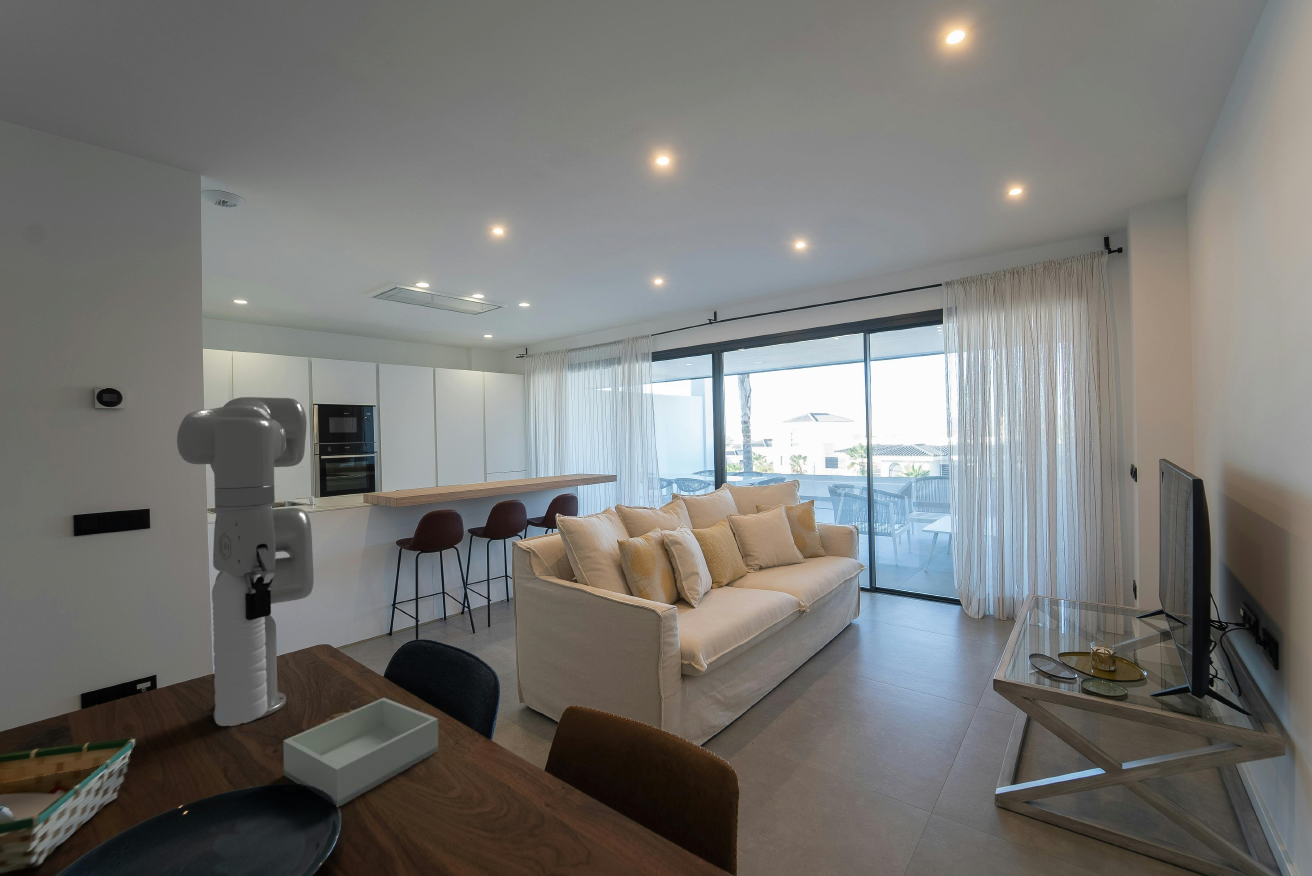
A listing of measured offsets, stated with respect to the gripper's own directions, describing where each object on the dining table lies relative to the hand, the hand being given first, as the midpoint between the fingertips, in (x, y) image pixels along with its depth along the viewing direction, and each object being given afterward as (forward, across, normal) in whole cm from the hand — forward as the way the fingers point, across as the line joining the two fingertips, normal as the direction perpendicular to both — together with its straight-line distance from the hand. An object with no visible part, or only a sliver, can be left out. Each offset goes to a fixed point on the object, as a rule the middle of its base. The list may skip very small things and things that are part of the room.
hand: (247, 612), depth 89 cm
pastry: (+32, -12, +20) cm, 39 cm away
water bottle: (+16, 0, 0) cm, 16 cm away
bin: (+31, +2, +17) cm, 35 cm away
